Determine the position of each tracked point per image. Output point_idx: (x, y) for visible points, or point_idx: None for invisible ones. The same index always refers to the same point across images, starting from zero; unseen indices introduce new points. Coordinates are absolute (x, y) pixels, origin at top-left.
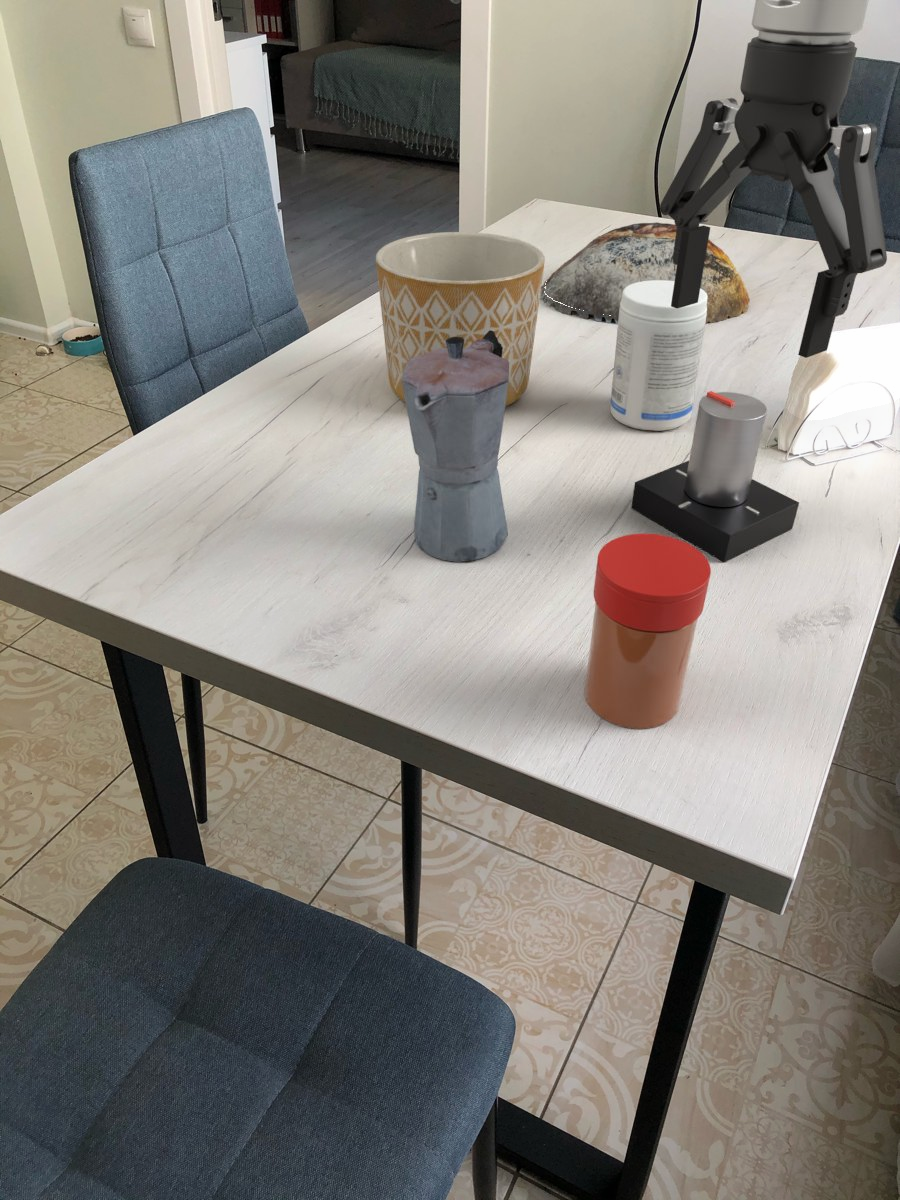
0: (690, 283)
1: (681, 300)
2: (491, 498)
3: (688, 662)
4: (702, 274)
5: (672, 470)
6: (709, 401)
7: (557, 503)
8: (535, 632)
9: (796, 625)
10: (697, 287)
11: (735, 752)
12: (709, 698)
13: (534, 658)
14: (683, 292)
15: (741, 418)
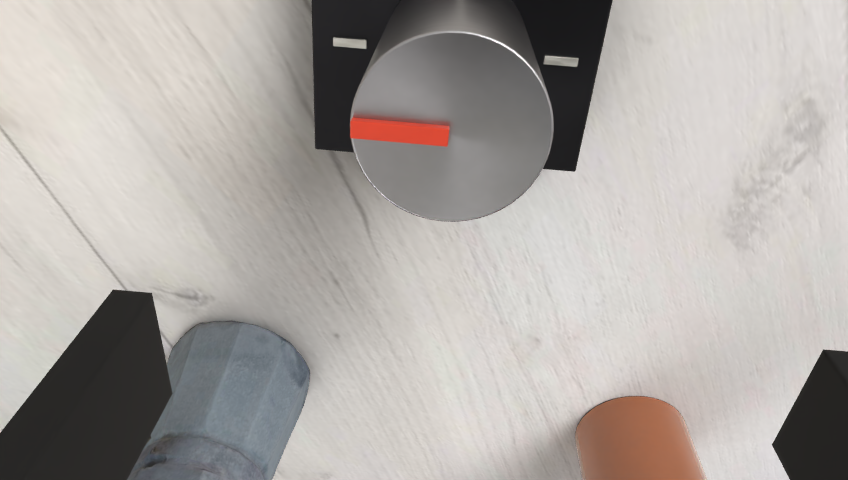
0: (117, 424)
1: (156, 401)
2: (278, 440)
3: (703, 471)
4: (83, 386)
5: (324, 44)
6: (387, 163)
7: (236, 208)
8: (473, 428)
9: (747, 204)
10: (121, 360)
11: (768, 427)
12: (705, 388)
13: (506, 454)
14: (141, 426)
15: (518, 187)
